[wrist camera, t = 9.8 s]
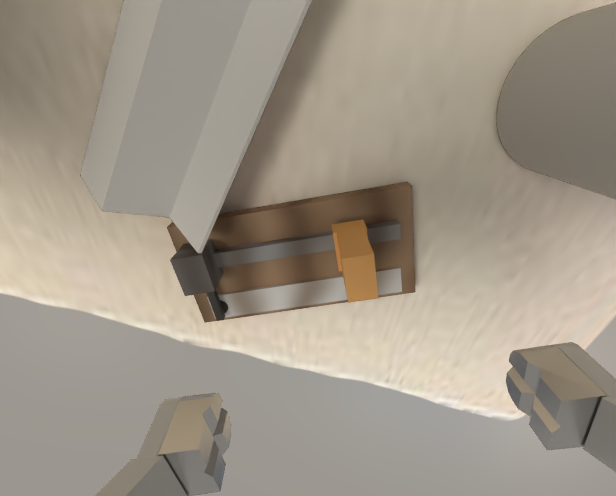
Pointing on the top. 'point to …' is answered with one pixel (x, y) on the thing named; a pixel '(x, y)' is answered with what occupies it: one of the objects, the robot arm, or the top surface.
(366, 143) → the top surface
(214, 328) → the top surface
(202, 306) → the gauge board
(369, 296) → the sliding jaw
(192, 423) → the robot arm
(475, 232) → the top surface
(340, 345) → the top surface
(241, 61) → the z bracket
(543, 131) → the cylinder vase
